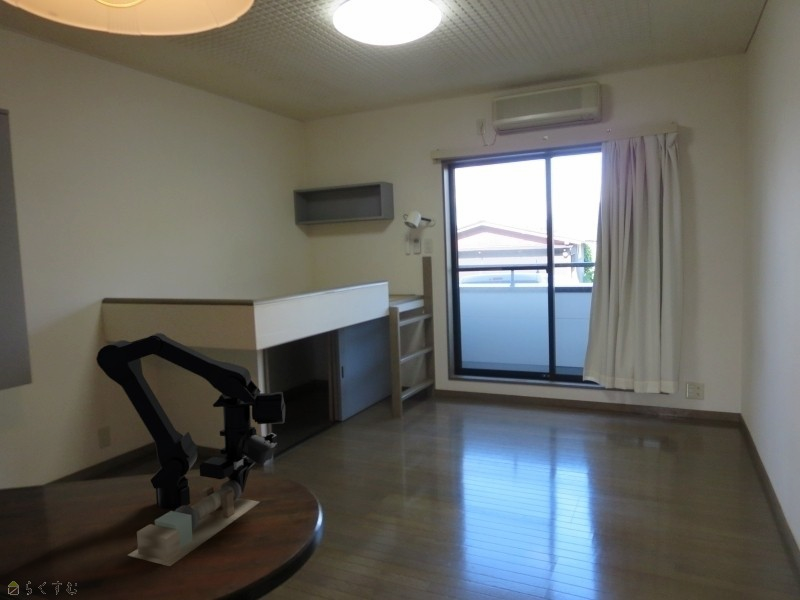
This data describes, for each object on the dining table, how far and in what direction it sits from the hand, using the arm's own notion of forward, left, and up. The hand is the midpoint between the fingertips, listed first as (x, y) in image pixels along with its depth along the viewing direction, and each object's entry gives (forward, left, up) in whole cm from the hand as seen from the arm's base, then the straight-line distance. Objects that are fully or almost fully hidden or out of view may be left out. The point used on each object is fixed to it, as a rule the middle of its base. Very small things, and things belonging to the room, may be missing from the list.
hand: (240, 492), depth 120 cm
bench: (0, -13, -2) cm, 13 cm away
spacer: (0, -20, -1) cm, 20 cm away
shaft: (0, -10, -1) cm, 10 cm away
